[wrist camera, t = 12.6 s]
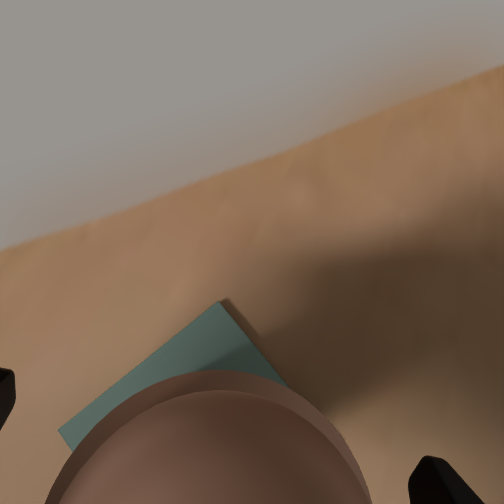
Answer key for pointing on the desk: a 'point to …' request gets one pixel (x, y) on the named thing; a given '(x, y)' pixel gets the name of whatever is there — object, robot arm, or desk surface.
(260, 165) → the desk surface
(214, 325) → the tile
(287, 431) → the terracotta pawn
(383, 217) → the desk surface
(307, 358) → the desk surface
